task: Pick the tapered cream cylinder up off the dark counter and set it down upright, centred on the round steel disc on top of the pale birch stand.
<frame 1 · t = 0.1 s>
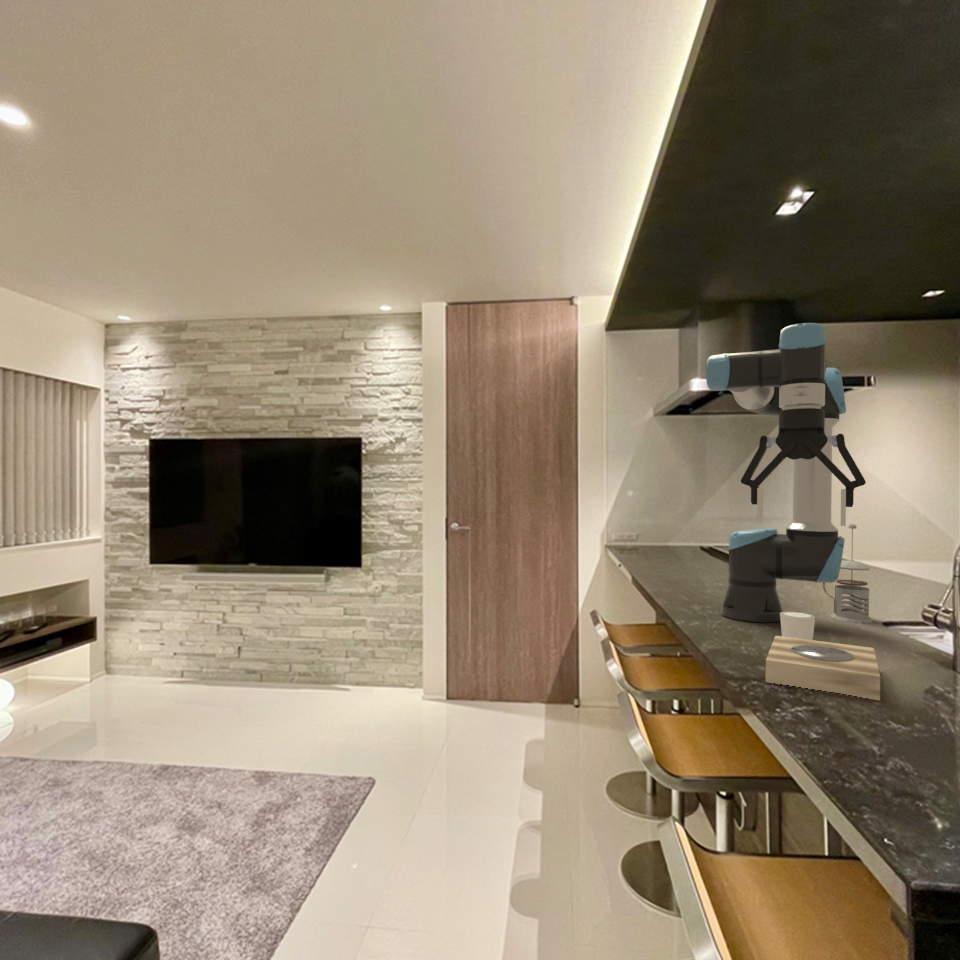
hand: (800, 524, 112), 28 cm above the worktop, tool pointing down, fingers open, 13 cm apart
tapered cream cylinder: (796, 647, 132), on the worktop
french press: (847, 619, 161), on the worktop
birch stand: (821, 675, 112), on the worktop
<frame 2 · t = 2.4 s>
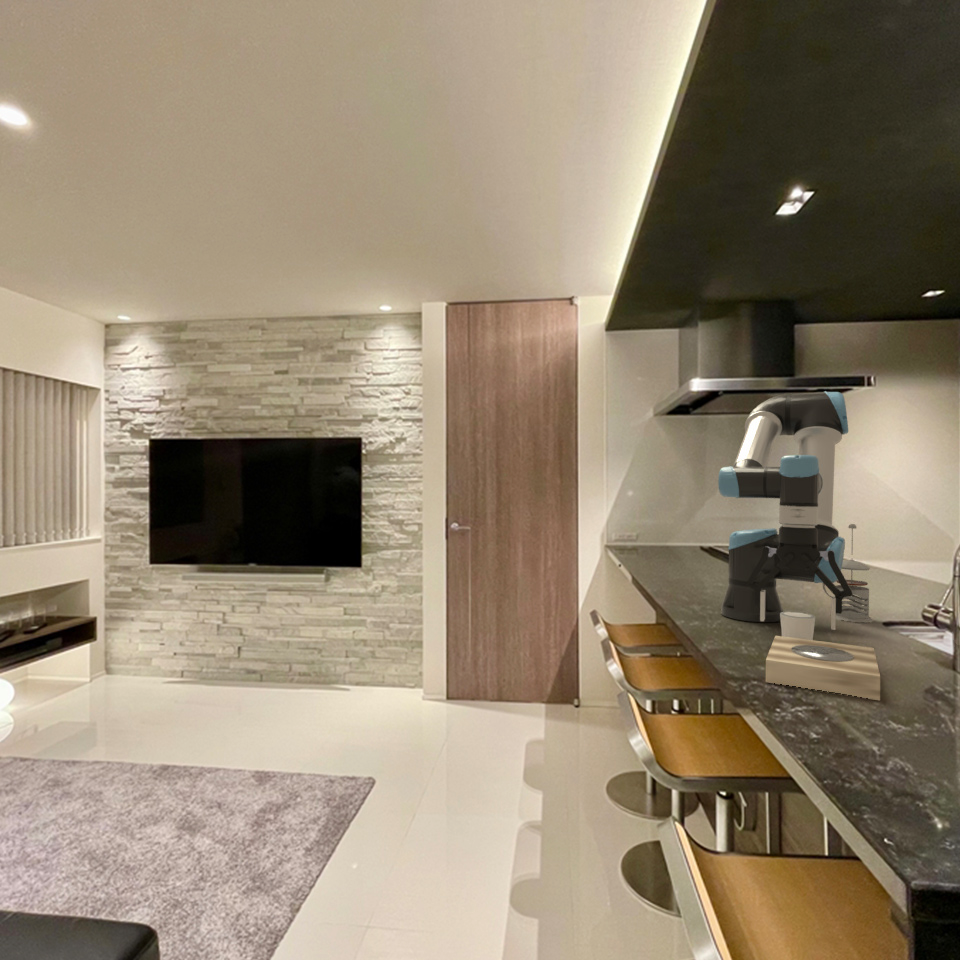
hand: (796, 624, 131), 5 cm above the worktop, tool pointing down, fingers open, 13 cm apart
nothing on the worktop moved.
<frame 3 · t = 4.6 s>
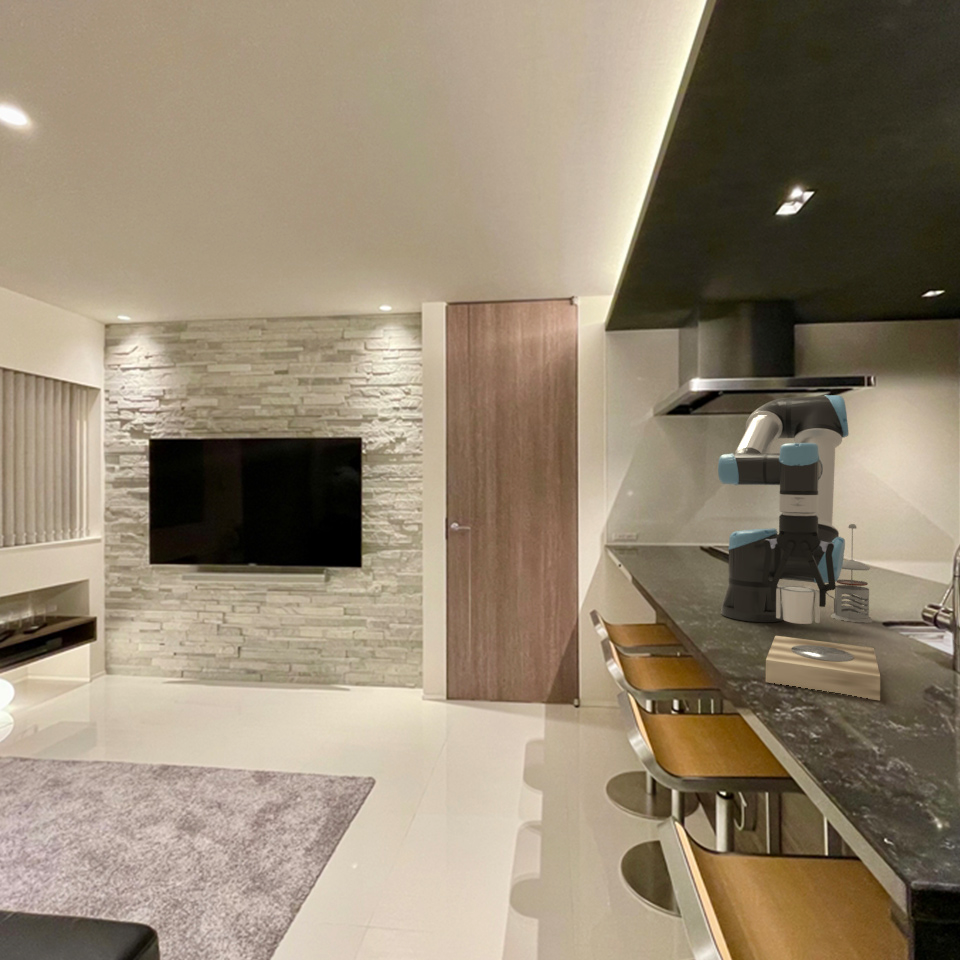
hand: (797, 618, 132), 6 cm above the worktop, tool pointing down, fingers closed on tapered cream cylinder, 7 cm apart
tapered cream cylinder: (797, 621, 133), point 5 cm above the worktop, touching gripper
everything else where it was.
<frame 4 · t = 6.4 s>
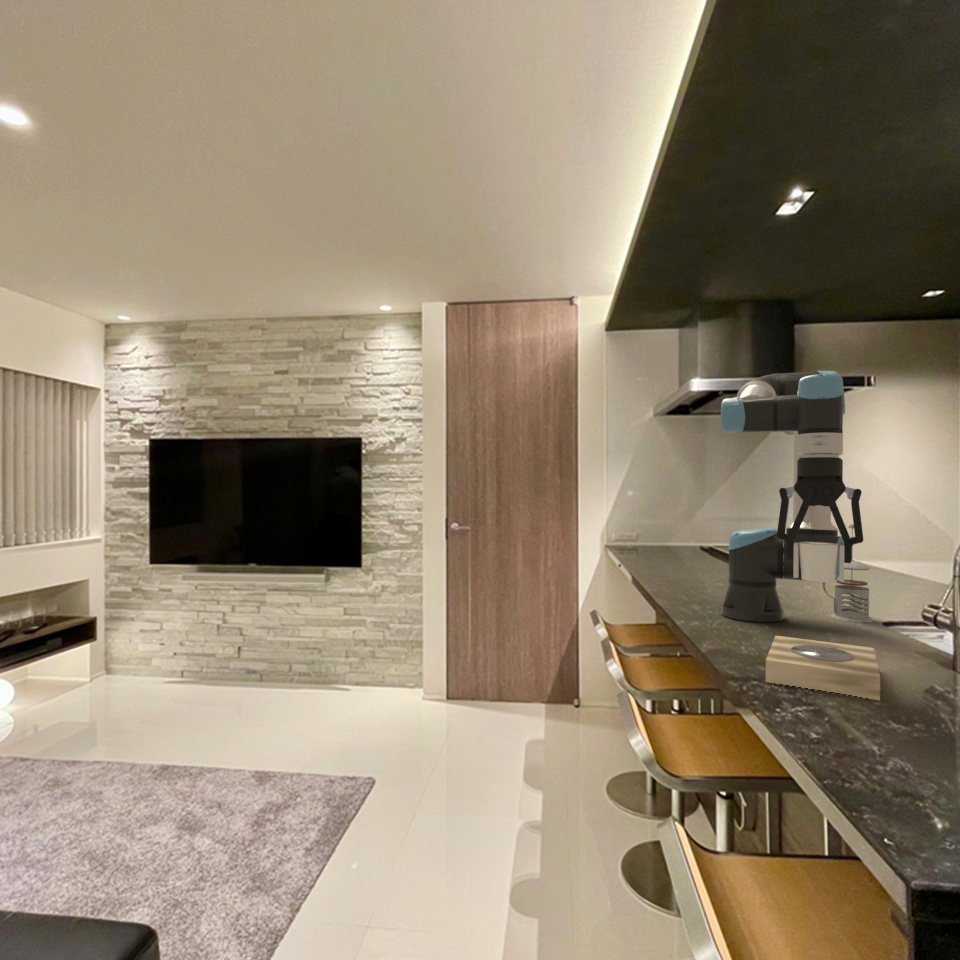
hand: (818, 578, 114), 18 cm above the worktop, tool pointing down, fingers closed on tapered cream cylinder, 7 cm apart
tapered cream cylinder: (818, 581, 115), point 17 cm above the worktop, touching gripper
everything else where it was.
when the fingers open (6 cm above the worktop, at t = 8.3 s): tapered cream cylinder drops 1 cm, resting on birch stand.
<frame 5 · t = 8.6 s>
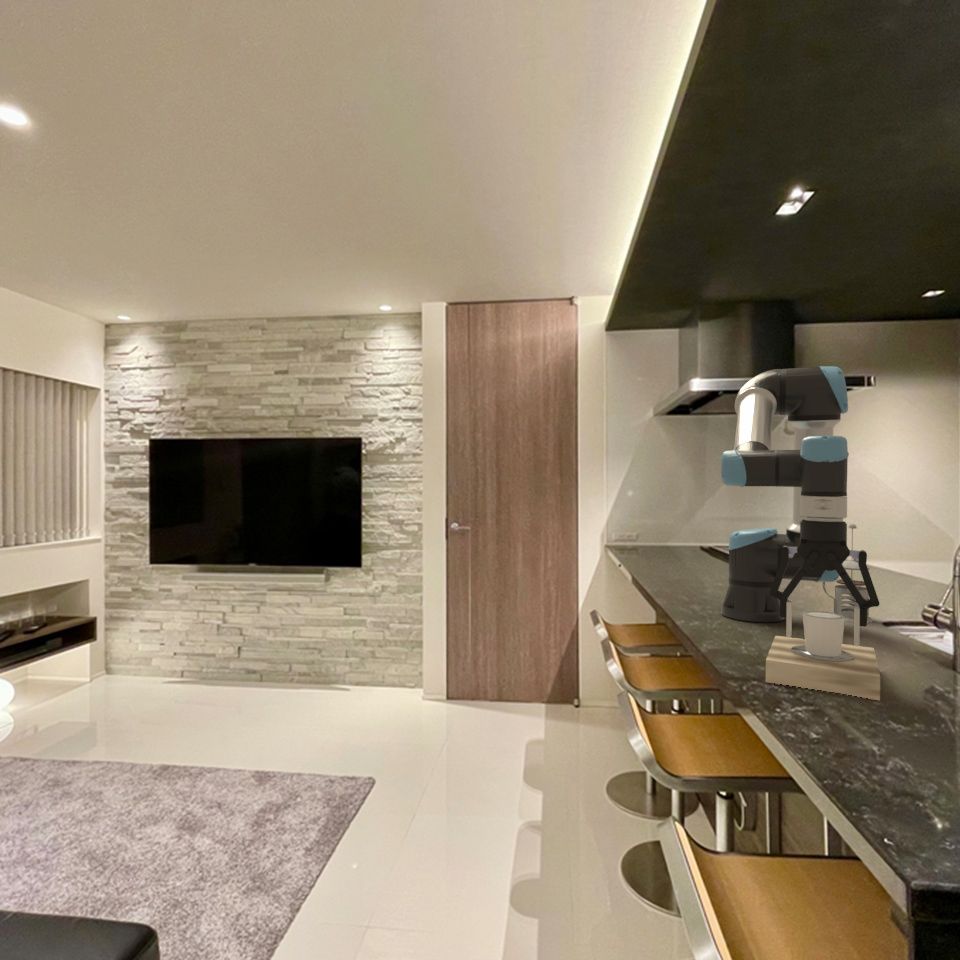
hand: (821, 639, 112), 7 cm above the worktop, tool pointing down, fingers open, 10 cm apart
tapered cream cylinder: (823, 653, 112), point 4 cm above the worktop, touching birch stand
everything else where it was.
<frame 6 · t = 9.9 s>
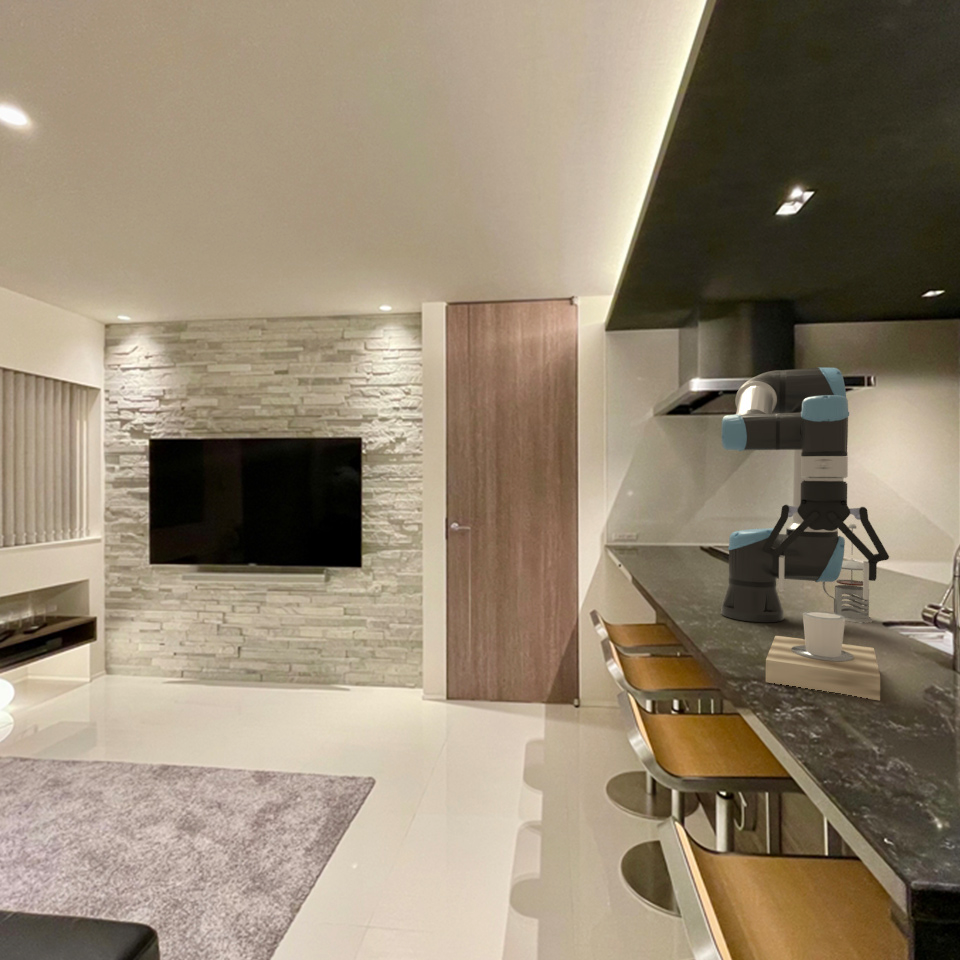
hand: (822, 594, 112), 15 cm above the worktop, tool pointing down, fingers open, 13 cm apart
nothing on the worktop moved.
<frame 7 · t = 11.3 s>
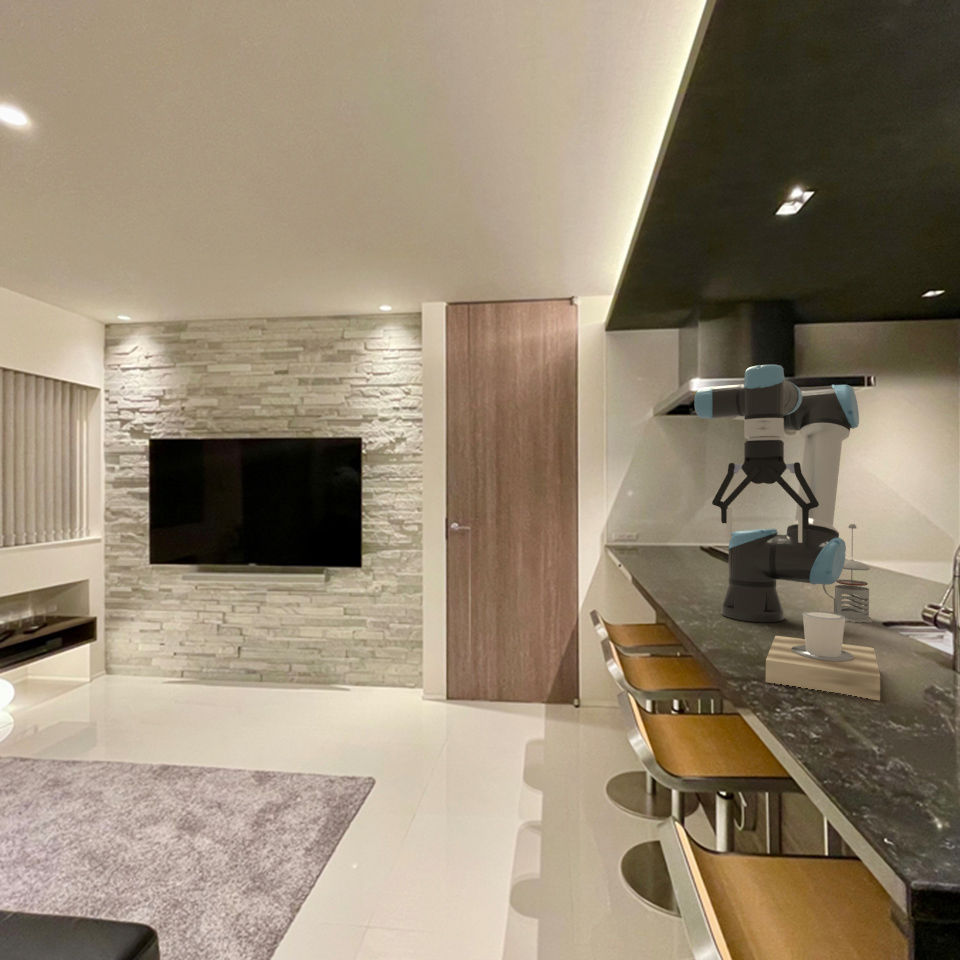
hand: (763, 540, 128), 23 cm above the worktop, tool pointing down, fingers open, 13 cm apart
nothing on the worktop moved.
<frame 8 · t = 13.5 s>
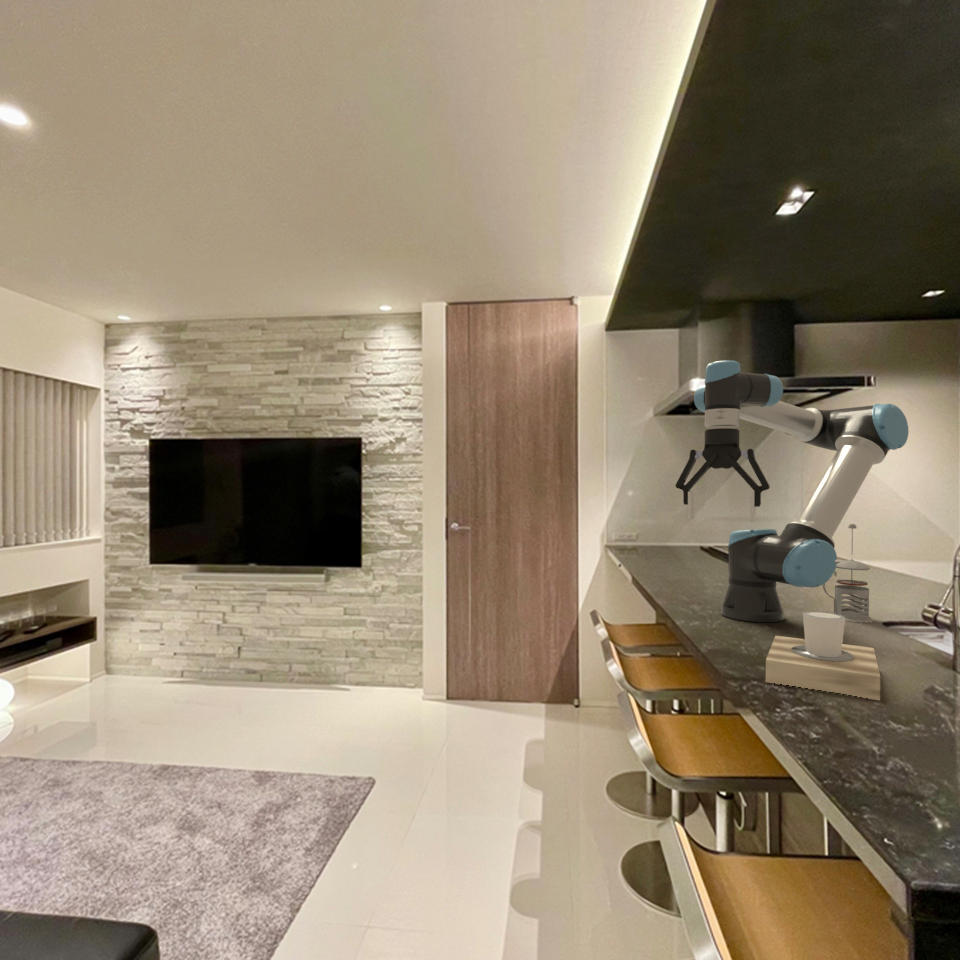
hand: (720, 520, 141), 27 cm above the worktop, tool pointing down, fingers open, 13 cm apart
nothing on the worktop moved.
at the end: tapered cream cylinder 0.2 cm from the birch stand (horizontally); tapered cream cylinder point 4.0 cm above the worktop; tapered cream cylinder tilted 0° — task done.
